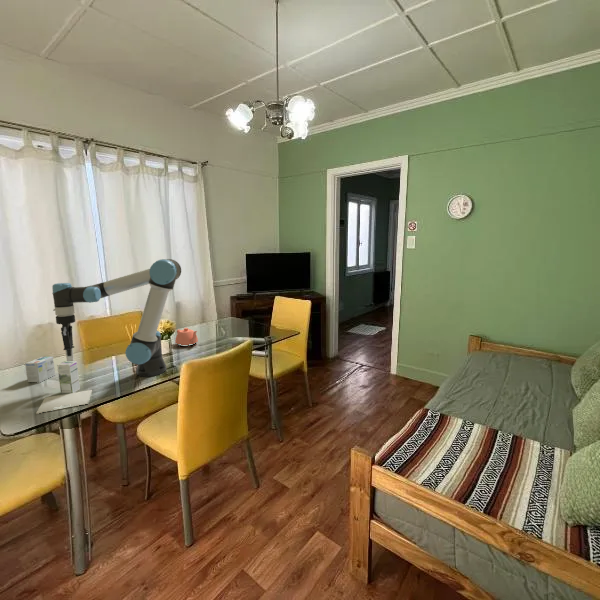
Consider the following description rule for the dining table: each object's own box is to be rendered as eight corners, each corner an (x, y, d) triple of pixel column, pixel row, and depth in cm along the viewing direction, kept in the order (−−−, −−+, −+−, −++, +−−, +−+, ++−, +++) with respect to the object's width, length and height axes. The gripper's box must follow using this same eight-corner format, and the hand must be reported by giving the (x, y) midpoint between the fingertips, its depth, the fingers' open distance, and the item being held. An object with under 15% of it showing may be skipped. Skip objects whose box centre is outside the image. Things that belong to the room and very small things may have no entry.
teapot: (206, 344, 231) (205, 328, 229) (188, 350, 219) (187, 332, 217) (186, 340, 243) (185, 324, 241) (169, 345, 231) (167, 328, 229)
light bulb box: (44, 375, 175) (41, 356, 173) (56, 375, 175) (53, 356, 173) (27, 383, 165) (24, 363, 163) (39, 383, 164) (37, 363, 163)
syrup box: (80, 388, 157) (77, 360, 155) (72, 394, 151) (69, 364, 149) (68, 389, 157) (65, 360, 155) (60, 394, 151) (56, 364, 149)
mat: (92, 390, 155) (91, 389, 155) (88, 404, 141) (88, 403, 141) (45, 398, 147) (45, 397, 146) (36, 414, 133) (36, 413, 132)
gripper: (58, 313, 160) (63, 359, 164) (52, 318, 149) (58, 367, 152) (76, 312, 163) (81, 356, 167) (72, 316, 152) (77, 364, 155)
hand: (70, 361), depth 159 cm, fingers closed
